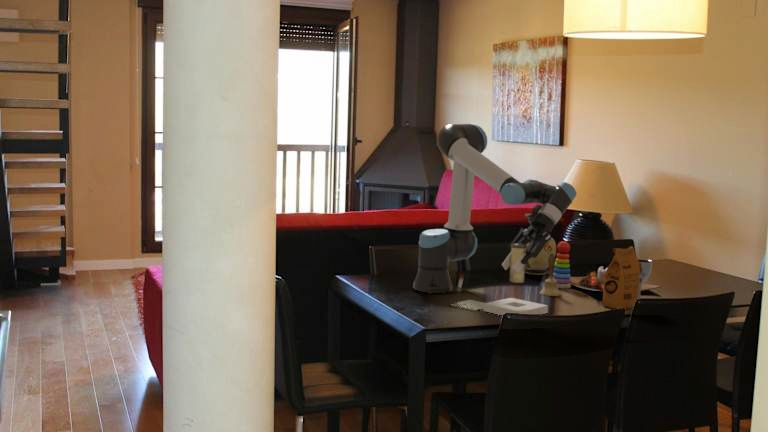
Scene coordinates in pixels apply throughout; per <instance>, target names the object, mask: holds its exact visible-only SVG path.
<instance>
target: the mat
mask: <svg viewBox="0 0 768 432" xmlns="http://www.w3.org/2000/svg"><path fill="white" fill-rule="evenodd" d="M458 303H459V305H460V304H461V305H462V306H463V307H465V308H467V306H468V308H469V309H471V308H473V309H474V310H475V309H476V310H477V309H483V304H484V303H485V302H482V301H477V300H473V299H466V300H462V301H457V304H458ZM465 303H466V305H467V306H466V305H463V304H465ZM471 304H472V305H471ZM461 305H460V306H461ZM462 306H461V307H462ZM470 307H471V308H470Z"/></svg>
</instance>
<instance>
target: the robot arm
mask: <svg viewBox="0 0 768 432" xmlns="http://www.w3.org/2000/svg"><path fill="white" fill-rule="evenodd" d="M436 145H437V147H438V149H439V151H440V152H441V153H442V154H443V155H444V156H445V157H447V159H449V160H451V161H453V162H452V163H453V164H452V168H453V169H452V178H451V188H450V189H451V190H450V199H449V208H448V209H449V211H448V220H447V222H446V223H445V224H444V225H443V228H434V229H433V228H431V229H426V230H423V231H422V232H421V233H420V234H419V238H418V239H419V240H418V264H417V265H418V266H417V267H418V269H417V272H416V275H415V277H414V281H413V285H412V289H413V288H414V289H415V290H418V291H423V292H432V293H442V294H445V293H444V292H449V293H451V292H452V290H453V284H452V281H451V277H450V273H449V262H454V261H462V260H463V261H464V260H467V259H469V258H471V257H472V256H474V254H475V253H476V251H477V248H478V237H476V234H475V233H474V227H473V226H472V225H471V213H472V203H473V193H474V183H475V176H476V177H477V178H479V179H480V180H482V181H483V182H484V183H485V184H487V185H488V186H489V187H491V188H492V189H493V190H494V191H496V192H497V193H499V194H500V198H501V200H502V201H503V203H504V204H506V205H509V206H510V205H512V206H518V205H525V204H539V205H541V206H542V208H541V209H540V210H539V211H538V214H536V216H535V217H534V218H533V220H532V224H531V226H528V227H527V228H524V227H521V228H520V229H519V232H518V233H517V235H516V236H515V237H514V238H513V240H512V241H511V243H510V244H509V246H508V247H507V249H508V250H509V252H508V253H507V255H506V256H505V259H504V261H502V263H501V267H503V269H504V270H505V271H507V270H508V269H509V268H510V264H511V245H512V244H514V243H519V244H527V243H530V242H531V243H530V245H529V247H528V249H527V251H525V253H526V255H525V254H524V253H523V254H522V256H521V257H520V258H519V260H518V261H517V262H516V264H515V265H514V266H513V268H514V270H515V271H516V272H517V273H518V272H519V271H520V269H521V268H522V267H523V265H525V264H526V263H527V261H528V260H529V259H530V258H532V257H534V258H536V257H537V255H538V254H539V253H540V251H541V250H542V248H543V247H544V246H545V244H546V243H547V242H548V241H549V240H550V239H551V237H552V236H551V232H552V230H553V228H554V227H555V225H557V223H558V222H559V220H560V219H561V218H562V216H564V213H565V212H566V211H567V209H569V207H570V206H571V204H573V201H574V200H575V198H576V197H577V190H576V189H575V187H574V185H572V184H570V183H568V182H566V181H564V182H563V181H561V182H559V184H557V185H556V186H554V185H551V184H548V183H545V182H541V181H539V180H537V179H531V178H529V179H526V180H525V181H523V182H520V181H519V180H518V179H516V178H515V177H514V176H513V175H511V174H509V173H508V172H507V171H505V170H504V169H503V168H501V167H500V166H499V165H497V164H496V163H495V162H493V160H490V159H489V158H488V157H486V156H485V155H484V154H483V153H484V151H485V150H486V149H487V146H488V138H487V134H486V132H485V130H484V129H483V128H482V127H481V126H479V125H477V124H473V123H472V124H471V123H450V124H447V125H445V126H443V127H441V128H440V129H439V131H438V133H437V136H436ZM534 252H535V253H534ZM415 290H414V291H415ZM450 291H451V292H450Z"/></svg>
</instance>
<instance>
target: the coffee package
mask: <svg viewBox="0 0 768 432" xmlns="http://www.w3.org/2000/svg"><path fill="white" fill-rule="evenodd" d="M634 248H635V247H634V246H632V245H631V246H629V247H627V248H615V247H614V248H613V249H612V252H613V253H614V256H613V258H612V260H611V262H610V264H609V265H608V266H607V268H606V270H605V273H604V275H603V276H604V277H603V293H602V300H601V301H602V304H603V306H604V307H608V308H609V309H614V310H616V309H615V308H621V307H623V308H624V309H633V308H634V307H633V305H634V303H635V301H636V300H637V299H638V293H639V277H640V270H639V262H638V259H639V258H638V256H637V254H636V252H635V249H634Z"/></svg>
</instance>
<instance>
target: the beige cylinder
mask: <svg viewBox="0 0 768 432" xmlns="http://www.w3.org/2000/svg"><path fill="white" fill-rule="evenodd" d="M525 251H526V244H519V243H514V244H512V245H511V264H510V266H509V282H511V283H514V284H519V283H520V284H521V283H522V284H523V283H525V274H526V272H525V271H526V268H525V265H523V267H522V268H521V269H520V271H519V272H518V273H517V272H516V271H515V270H514V268H513V266H514V265H515V264H516V262H517V261H518V260H519V258H520V257H521V256H522V254H523V253H524V254H525V255H526V253H525Z"/></svg>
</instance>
